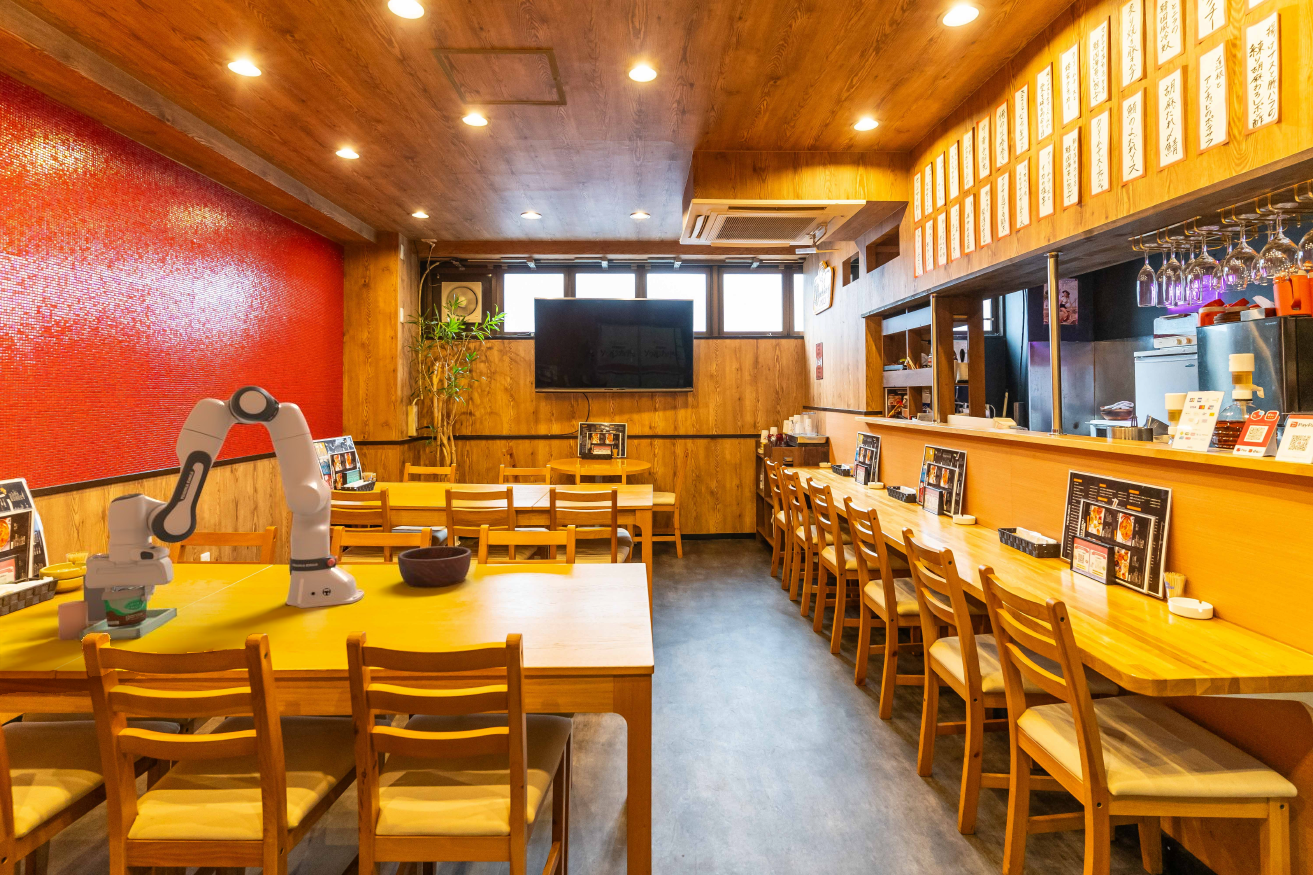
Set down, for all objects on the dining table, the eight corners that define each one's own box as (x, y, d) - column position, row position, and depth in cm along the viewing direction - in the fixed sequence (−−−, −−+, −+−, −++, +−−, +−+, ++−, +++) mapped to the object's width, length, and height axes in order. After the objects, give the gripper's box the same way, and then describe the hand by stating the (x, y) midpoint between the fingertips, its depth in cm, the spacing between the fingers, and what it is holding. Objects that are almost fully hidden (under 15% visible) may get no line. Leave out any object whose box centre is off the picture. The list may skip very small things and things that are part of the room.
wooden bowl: (408, 573, 252) (407, 546, 252) (476, 572, 255) (476, 545, 255) (389, 591, 227) (388, 561, 227) (465, 589, 230) (464, 559, 230)
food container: (121, 629, 181) (120, 593, 181) (102, 628, 183) (101, 592, 182) (162, 616, 194) (161, 581, 193) (144, 615, 195) (143, 580, 194)
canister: (93, 632, 184) (92, 599, 184) (79, 639, 178) (78, 605, 178) (68, 633, 183) (67, 601, 183) (53, 641, 177) (52, 607, 177)
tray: (176, 616, 199) (176, 607, 199) (140, 637, 180) (139, 628, 180) (122, 619, 196) (122, 610, 196) (79, 641, 177) (79, 632, 177)
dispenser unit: (141, 611, 204) (140, 565, 204) (118, 622, 193) (117, 574, 192) (103, 613, 202) (102, 566, 202) (78, 625, 190) (76, 576, 190)
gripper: (78, 556, 182) (80, 607, 183) (164, 553, 186) (165, 602, 187) (93, 551, 188) (94, 601, 189) (175, 548, 192) (176, 596, 193)
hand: (130, 601), depth 188 cm, fingers closed on food container, 6 cm apart
